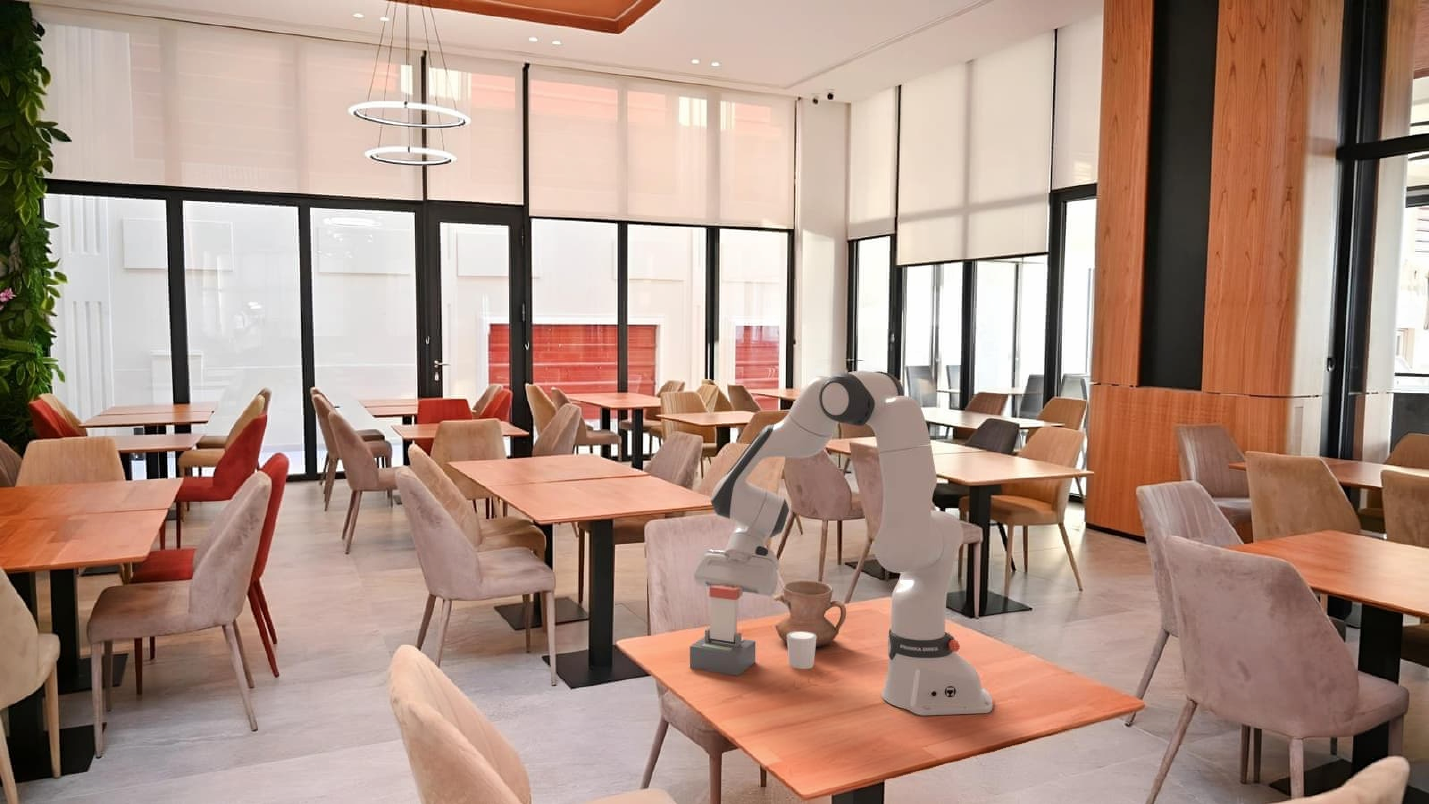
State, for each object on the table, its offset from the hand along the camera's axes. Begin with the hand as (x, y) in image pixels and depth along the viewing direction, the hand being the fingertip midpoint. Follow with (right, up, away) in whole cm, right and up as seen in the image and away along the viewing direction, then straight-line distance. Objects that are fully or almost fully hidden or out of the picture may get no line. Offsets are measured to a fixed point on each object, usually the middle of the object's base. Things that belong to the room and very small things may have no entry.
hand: (725, 604), depth 222 cm
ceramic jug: (+21, -13, +15) cm, 29 cm away
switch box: (-1, -14, -1) cm, 14 cm away
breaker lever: (-1, -8, -1) cm, 8 cm away
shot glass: (+17, -14, 0) cm, 22 cm away
